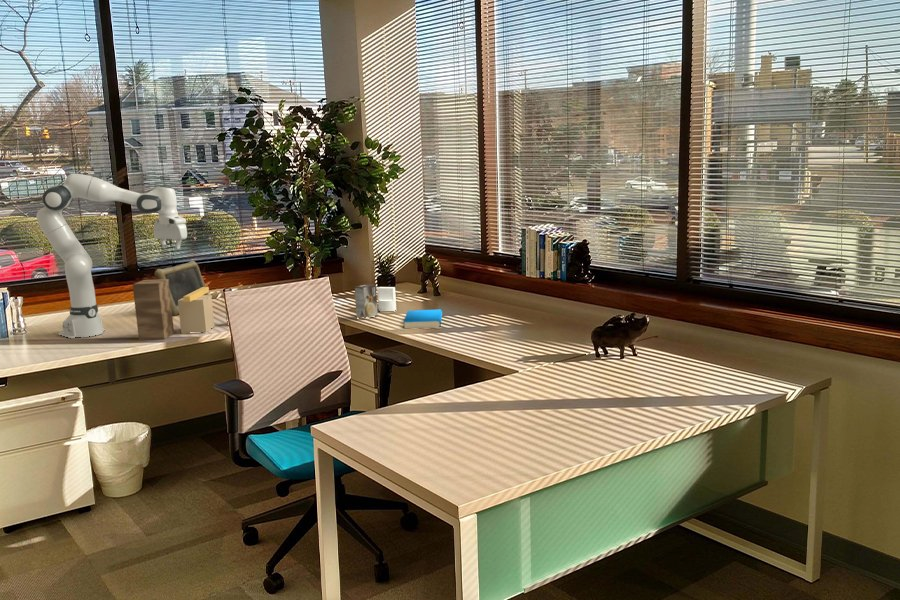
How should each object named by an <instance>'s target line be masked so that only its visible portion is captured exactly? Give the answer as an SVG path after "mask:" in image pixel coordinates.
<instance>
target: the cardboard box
mask: <svg viewBox="0 0 900 600" xmlns="http://www.w3.org/2000/svg"><path fill="white" fill-rule="evenodd" d="M212 298H213V296H212V294H208V295H202V296H200V297H198V298H196V299H194V300H193V301H191V302H184V299H183V298H182V299H180V300H178V307H179V315H178V318H179V323H180V333H190V332H206V331H208V330H209V329H211V328H213V327H214V326H215V317H214V309H213V307H214V306H213V299H212ZM213 329H214V328H213Z"/></svg>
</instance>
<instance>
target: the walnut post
mask: <svg viewBox="0 0 900 600" xmlns="http://www.w3.org/2000/svg"><path fill="white" fill-rule="evenodd" d="M132 290H133V300H134V307H135V317H136V318H135V319H136V324H137V325H136V326H137V335H138V340H139V341H152V340H156V341H157V340H166V339H167V338H169V337H170V335H171V336H173V335H174V334H175V329H174V319H173V316H172V308H171V299H170V289H169V280H168V279H159V280H158V279H143V280H140V281H138V282H137V281H136V282H134V283H133V284H132ZM173 333H174V334H173Z"/></svg>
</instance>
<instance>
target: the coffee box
mask: <svg viewBox="0 0 900 600" xmlns="http://www.w3.org/2000/svg"><path fill="white" fill-rule="evenodd" d="M353 288H354V299H355V312H356V313H355V315H356V318H357V317H364V318H366V317H371V316H375V315H378V316H379V313H378V312H379V309H378V295H377V284H370V283H366V284H360V285H357V286H354V287H353Z"/></svg>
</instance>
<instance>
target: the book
mask: <svg viewBox="0 0 900 600" xmlns="http://www.w3.org/2000/svg"><path fill="white" fill-rule="evenodd" d="M442 319H443V310H442V309H440V308H439V309H420V310H419V309H418V310H417V309H416V310H407V312H406V315H405V316H404V319H403V323H404V329H405V328H411V329H430V328H431V329H432V328H435V329H436V328H440V327H441V323H442Z"/></svg>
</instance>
